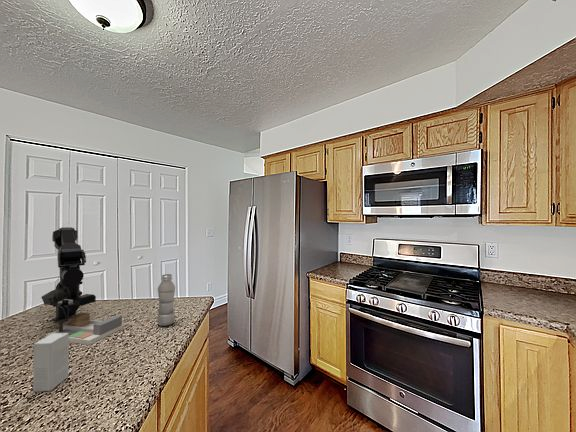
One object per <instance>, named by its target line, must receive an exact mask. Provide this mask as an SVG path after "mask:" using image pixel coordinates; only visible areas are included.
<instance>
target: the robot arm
mask: <svg viewBox="0 0 576 432" xmlns="http://www.w3.org/2000/svg"><path fill="white" fill-rule="evenodd" d="M51 236H52V237H51V238H52V239H51V241H52V242H54V247H55V249H57V267H58V268H59V282H58V283H57V285H56V286H55V289H54V290H50V291H49V292H47V293H45V294H44V295H41V297H40V298H41V300H42V303H43V304H44V305H45V306H47V305H49V306H52V307H53V308H55V317H54V318H52V319H51V321H54V322H58V321H60V320H62V319H65V318H68V317H70V316H73V315H76V314H77V312H78V310H79V308H80V307H82V306H86V305H88V304H92V303H95V302H97V301H96V299H97V296H96V295H95V294H91V293H85V294H83V291H81V290H80V285H83V279H84V277H85V276H84V273H83V271H82V270H81V266H85V265H86V264H85V263H87V257H86V256H87V255H86V252H85V250H84V249H82V246H81V245H80V244H78V243H77V242H76V241H78V230H76V229H75V227H67V226H66V227H59V228H58V229H56V230H54V231H52V235H51ZM64 322H68V320H65V321H63V323H64Z"/></svg>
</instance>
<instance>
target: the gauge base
mask: <svg viewBox="0 0 576 432" xmlns="http://www.w3.org/2000/svg"><path fill="white" fill-rule="evenodd" d="M122 322H123V316H122V315H113V316H110V317H108V318H106V319H103V320H97V319H96V320H95V319H90V323H89V324H87V325H85V326H82V327H78V326H70V325H68V324H63V331H61V332H59V328H58V329H56V330H54V331H51V332H48V333H46V334H45V337H47V336H49V335H50V334H52V333H69V343H73V344H74V343H75V344H81V345H87V346H90V345H92V344H95V343H96V342H98V341H101V340H102V339H104V338H107V337H109V336H110V335H113V334H114V333H115V334H116V333H117V332H119V331H121V330H123V329H124V328H125V324H123V323H122Z"/></svg>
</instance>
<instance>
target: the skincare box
mask: <svg viewBox="0 0 576 432" xmlns="http://www.w3.org/2000/svg"><path fill="white" fill-rule="evenodd" d="M69 343H70V342H69V333H52V334H50V335H49V336H47V337H46V336H45V337H44V338H42V339H40V340H38V341H36V342H34V343H33V367H32V368H33V369H32V370H33V371H32V372H33V376H32V377H33V379H32V381H33V382H32V384H33V385H32V386H33V387H32V388H33V389H32V390H33V393H35V392H36V393H38V392H51V391H52V390H54V389H55V388H56V387H57V386H58V385H60V384H61V383H62V382H63V381H64V380H66V379H67V378H68V377H69V351H70V350H69V349H70V348H69V347H70V345H69Z"/></svg>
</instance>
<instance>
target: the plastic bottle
mask: <svg viewBox="0 0 576 432" xmlns="http://www.w3.org/2000/svg"><path fill="white" fill-rule="evenodd" d="M172 280H173V274H169V273H168V274H167V273H166V274H165V273H164V274H162V275H161V282H160V283H159V285H158V287H157V297H158V312H157V317H156V319H157V324H158V325H159V327H167V326H170V325H173V324H174V322H175V321H176V320H175V319H176V313H175V306H174V301H175V293H176V285H175V283H174V282H173V281H172Z"/></svg>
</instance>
